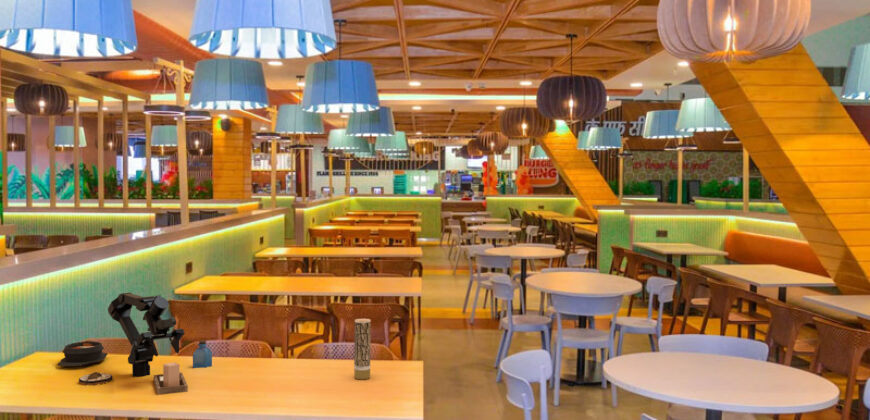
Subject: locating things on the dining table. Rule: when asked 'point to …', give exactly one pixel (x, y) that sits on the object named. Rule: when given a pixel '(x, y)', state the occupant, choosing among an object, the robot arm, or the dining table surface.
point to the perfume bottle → (202, 356)
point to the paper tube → (362, 349)
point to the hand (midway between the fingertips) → (167, 354)
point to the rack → (173, 389)
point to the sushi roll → (95, 378)
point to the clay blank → (170, 374)
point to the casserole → (82, 354)
